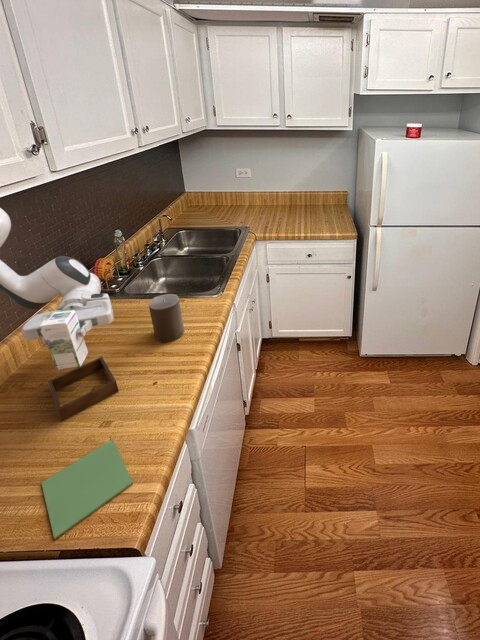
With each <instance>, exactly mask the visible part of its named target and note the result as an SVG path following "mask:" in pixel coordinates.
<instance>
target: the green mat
mask: <svg viewBox="0 0 480 640" xmlns="http://www.w3.org/2000/svg"><path fill="white" fill-rule="evenodd" d="M40 485H41V488H42V492H43V496H44V502H45V505H46V509H47V513H48V518H49V523H50V527H51V531H52V536H53V539H54V540H55V539H56V538H57V537H58V538H60V537H61V536H63V535H64V534H65V533H67V532H69V529H70V530H71V529H73V528H74V527H76V526H77V525H78V524H80V523H81V522H82V521H84V520H85V519H86V518H88V517H89V516H90V515H92V514H93V513H95V512H96V511H97V510H99V509H100V508H102V507H103V506H104V505H106V504H107V503H108V502H110V501H111V500H113V499H114V498H116V497H117V496H118V495H120V494H121V493H123V492H124V491H126V490H127V489H128V488H130V487H131V486H132V485H134V482H133V480H132V478H131V476H130V474H129V470H128V469H127V467H126V465H125V462H124V460H123V458H122V456H121V454H120V451H119V450H118V447H117V445H116V444H115V441H114V439H110V440H109V441H107V442H106V443H104V444H102V445H100V446H99V447H97V448H96V449H94V450H92V451H91V452H89V453H88V454H85V456H83V457H81V458H80V459H78V460H76V461H74V462H73V463H71V464H70V465H68V466H65V468H63V469H61V470H60V471H58V472H56V473H55V474H53V475H52V476H50V477H49V478H46V479H44V480H43V481H42V482H41V484H40ZM66 531H67V532H66ZM63 533H64V534H63ZM62 534H63V535H62ZM60 535H61V536H60ZM59 536H60V537H59ZM58 538H57V539H58ZM57 539H56V540H57Z"/></svg>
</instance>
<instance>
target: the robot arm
mask: <svg viewBox="0 0 480 640" xmlns="http://www.w3.org/2000/svg"><path fill="white" fill-rule="evenodd" d="M11 229H12V221H11V218H10V215H9V214H8V213H7V212H6V210H4V209H3V208H1V207H0V248H1V247H2V246H3V244H4V243H5V242H6V240H7V239H8V237H9V234H10V232H11ZM0 290H1V291H2V292H3V293H4V294H6V295H7V296H8V297H9V299H10V300H11V301H12V302H13V303H14V304H15V305H16V306H17V307H18V308H21V309H24V310H32V311H33V310H36V311H37V310H41V309H43V308H44V307H46V306H47V305H48V304H49V303H51V302H52V301H53V300H54V299H57V297H59V296H60V295H61V296H62V298H61V299H60V302H59V303H58V306H57V308H56V310H51V311H46V312H40V313H37V314H34V315H33V316H31V317H30V318H29V319H28V320H27V321H26V323H25V324H24V325H23V326H22V328H21V334H22V336H23V338H24V339H25V340H26V341H33V340H37V339H41V342H42V344H43V345H47V343H46V341H45V338H44V335H43V332H42V330H41V327H40V325H41V324H42V322H43V321H44V320H45V318H46V317H47V316H48V315H49V314H50V313H54V312H62V311H71V310H75V312H76V315H77V318H78V321H79V325H80V328H78V329H77V332H76V334H77V337H82V336H83V337H85V336H86V334H87V333H88V332H90V330H92V329H94V328H98V327H102V326H107V325H110V324H112V323H113V322H114V319H115V316H114V315H115V314H114V310H113V306H112V305H113V304H112V301H111V298H110V296H109V294H108V293H101V291H102V284H101V280H100V278H99V277H98V276H97V275H96V274H95V273H92V272H90V270H89V269H88V268H87V266H86V265H85V264H84V263H82V262H81V261H80V260H78V259H77V258H74V257H70V256H63V255H60V256H59V255H58V256H56V257H55V258H53V259H51V260H50V261H48V262H47V263H45V264H43V265H42V266H41V267H39V268H38V269H36V270H33V272H30V273H29V274H27V275H20V274H18V273H17V272H16V271H15V270H13V269H12V268H11V267H10V266H9V265H7V263H5V262H4V261H3V260H1V259H0Z"/></svg>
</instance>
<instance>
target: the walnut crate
mask: <svg viewBox="0 0 480 640" xmlns="http://www.w3.org/2000/svg"><path fill="white" fill-rule="evenodd" d="M102 370H103V373H104V374H105V377H106V378H107V379H108V382H107V383H105V384H103V385H101V386H99V387H97V388H95V389H93V390H90V391H89V392H87V393H85V394H83V395H81V396H79V397H76V398H75V399H73V400H71V401H69V402H67V403H65V404H64V405H61V403H60V400H59V397H58V395H57V392H58V391H60V390H62V389H64V388H66V387H68V386H70V385H72V384H74V383H76V382H79V381H81V380H83V379H85V378H87V377H90V376H91V375H93V374H96V373H98V372H100V371H102ZM112 373H113V372H112V371H111V370H110V368H109V366H108V365H107V363H106V361H105V359H104V357H103V356H100V357H98V358H95V359H93V360H91V361H89V362H86V363H84V364H82V365H81V367H76V368H72V369H71V370H69V371H67V372H65V373H61V374H60V375H57V376H56V377H53V378H51V379H49V380H47V383H48V387H49V390H50V392H51V396H52V399H53V402H54V405H55V408H56V411H57V413H58V417H59V419H60V421H61V422H65V421H66V420H68V419H69V418H72V417H74V416H75V415H78V414H79V413H81V412H83V411H84V410H87V409H88V408H90V407H92V406H95V405H96V404H98V403H100V402H101V401H103V400H105V399H108V398H110V397H111V396H113V395H115V394H116V393H119V387H118V384H117V380H116V379H115V377H114V375H113V374H112Z"/></svg>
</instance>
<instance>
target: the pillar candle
mask: <svg viewBox="0 0 480 640" xmlns="http://www.w3.org/2000/svg"><path fill="white" fill-rule="evenodd" d="M148 307H149V308H148V310H149V313H150V320H151V324H152V328H153V333H154V338H155V339H156V341H157V340H158V341H157V342H159V341H161V342H160V343H170V342H169V341H171V342H173V341H172V340H174V341H176V340H178V339H180V338H181V337H182V336H183V335H184V333H185V326H184V325H185V324H184V320H183V315H182V314H183V313H182V309H181V308H182V307H181V303H180V297H179V296H178V295H177V294H174V293H166V294H161V295H158V296H155V297H153V298H152V299H150V301H149V302H148ZM183 332H184V333H183ZM182 334H183V335H182ZM181 335H182V336H181ZM180 336H181V337H180ZM177 338H178V339H177ZM175 339H176V340H175Z"/></svg>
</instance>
